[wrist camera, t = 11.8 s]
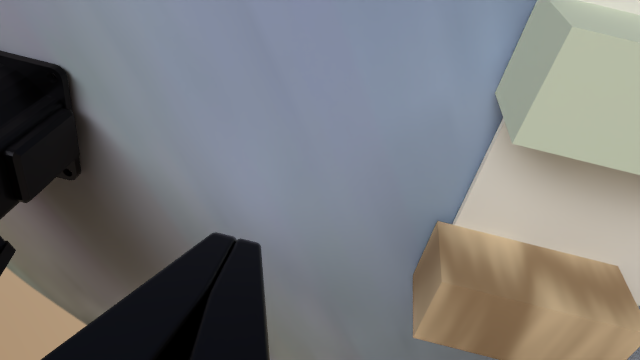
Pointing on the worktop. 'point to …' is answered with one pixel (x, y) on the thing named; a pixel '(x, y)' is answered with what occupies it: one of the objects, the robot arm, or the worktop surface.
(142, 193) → the worktop surface
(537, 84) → the sage block
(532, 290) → the oak block
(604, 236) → the mat
